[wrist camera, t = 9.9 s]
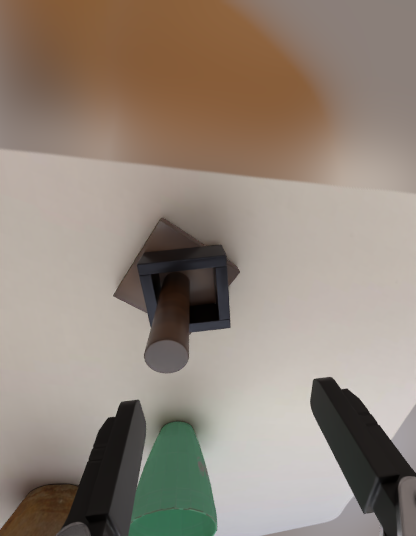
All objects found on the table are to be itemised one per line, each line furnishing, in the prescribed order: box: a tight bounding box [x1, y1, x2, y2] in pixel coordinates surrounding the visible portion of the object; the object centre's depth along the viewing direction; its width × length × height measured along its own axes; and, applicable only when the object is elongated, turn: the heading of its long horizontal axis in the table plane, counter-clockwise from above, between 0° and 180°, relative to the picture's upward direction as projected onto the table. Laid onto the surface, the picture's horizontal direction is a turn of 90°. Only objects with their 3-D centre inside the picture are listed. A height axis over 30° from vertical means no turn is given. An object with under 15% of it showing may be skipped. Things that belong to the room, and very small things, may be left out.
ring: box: [137, 245, 230, 333], centre depth 20 cm, size 7×7×3 cm
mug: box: [128, 421, 217, 536], centre depth 29 cm, size 15×10×10 cm
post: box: [113, 217, 240, 373], centre depth 18 cm, size 9×9×11 cm
